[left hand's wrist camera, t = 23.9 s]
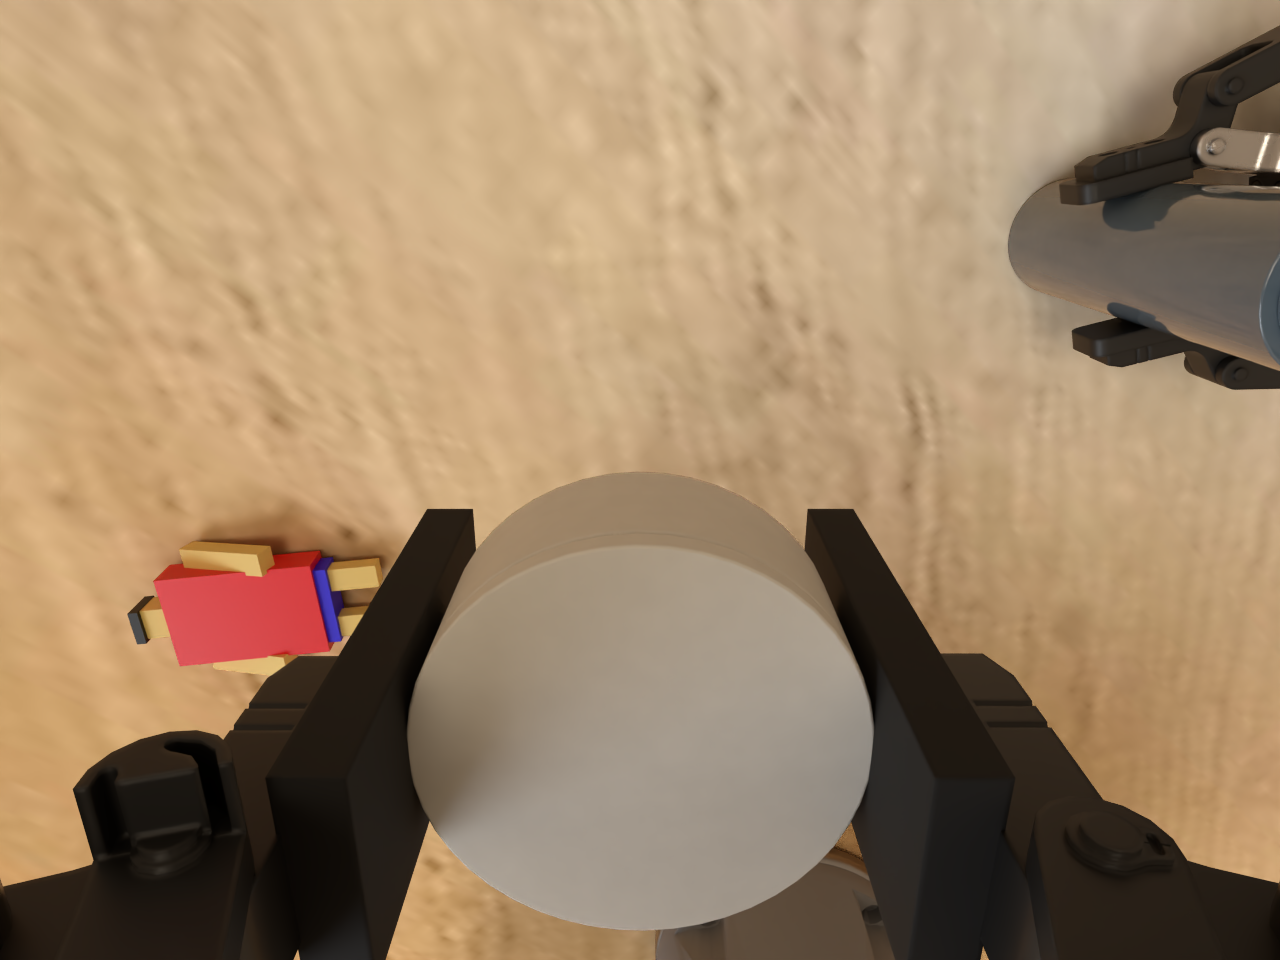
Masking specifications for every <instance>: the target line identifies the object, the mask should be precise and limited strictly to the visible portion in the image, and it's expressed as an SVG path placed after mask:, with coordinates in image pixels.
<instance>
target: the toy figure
mask: <svg viewBox="0 0 1280 960" xmlns="http://www.w3.org/2000/svg"><path fill="white" fill-rule="evenodd" d="M179 552H180V555H181V558H182V562H183V564H175V565H169V566H168V567H167V568H166V569H165V570H164V571H163V572H162V573H161V574H160V575H159V576H158V577H157V578H156V579H155V580H154V585H155V588H156V591H157V594H158V597H154V596H147V597H144V598H143V599H142V600H141V601H140V602H139V603H138V604H137V605H136V606H135V607H134V608H133V609H132V610H131V611H130V612H129V613H128V617H129V621H130V624H131V627H132V630H133V633H134V636H135V639H136V642H137V644H146V643H147V642H148V641H149V640H150V639H153V638H163V637H171V639H172V643H173V646H174V649H175V652H176V656H177V659H178V662H179V665H180V666H187V665H197V664H207V663H212V664H213V667H214V669H218V670H227V671H235V672H244V673H252V674H261V675H270V676H271V675H273V674H274V673H275V672H277V671H278V670H280V669H281V668H282V667H284V666H285V665H287V664H288V663H290V662H291V661H292V660H294V659H295V658H297V657H298V654H308V653H318V652H328V651H330V650H331V648H332V646H333V644H334V642H338V641H341V640H342V638H343V637H344V636H350V635H352V633H353V631H354V630H355V628H356V626H357V625H358V623H359V621H360V620H361V618H362V616H363V615H364V613H365V611H366V610H367V608H368V607H369V606H362V607H351V608H344V605H343V600H342V596H341V590H351V589H362V588H372V587H379V586H380V584H381V582H382V580H383V576H382V571H381V566H380V561H379V558H374V559H363V560H353V561H343V562H334V560H333V557H329V558H322V557H321V553H320V551H311V552H301V553H290V554H280V555H272V551H271V547H270V546H261V545H245V544H229V543H214V542H198V541H193V542H191V543H189V544H188V545H186V546H184V547H182V548H181V549H179Z"/></svg>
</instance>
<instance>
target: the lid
mask: <svg viewBox="0 0 1280 960" xmlns="http://www.w3.org/2000/svg"><path fill="white" fill-rule="evenodd" d="M873 737H874V720H873V713H872V706H871V700H870V697H869V694H868V690H867V687H866V684H865V681H864V677H863V675H862V672H861V670H860V668H859V665H858V663H857V661H856V659H855V656H854V654H853V651H852V649H851V647H850V644H849V642H848V640H847V637H846V635H845V633H844V630H843V628H842V626H841V623H840V621H839V619H838V616H837V614H836V612H835V609H834V607H833V605H832V602H831V600H830V598H829V595H828V593H827V591H826V588H825V586H824V584H823V582H822V580H821V578H820V576H819V574H818V572H817V570H816V568H815V566H814V564H813V562H812V561H811V559H810V558H809V556H808V555H807V553H806V552H805V551H804V549H803V548H802V546H801V545H800V544H799V542H798V541H797V540H796V539H795V538H794V537H793V536H792V535H791V534H790V533H789V532H788V531H787V529H786V528H785V527H784V526H783V525H781V524H780V523H779V522H778V521H777V520H775V519H774V518H773V517H772V516H770V515H769V514H768V513H767V512H766V511H764V510H763V509H761V508H760V507H758V506H756V505H755V504H753V503H752V502H750V501H748V500H747V499H745V498H743V497H742V496H740V495H737V494H735V493H733V492H731V491H728V490H726V489H724V488H722V487H719V486H717V485H714V484H711V483H707V482H704V481H701V480H697V479H694V478H690V477H684V476H679V475H673V474H667V473H651V472H628V473H615V474H607V475H602V476H597V477H592V478H587V479H582V480H579V481H577V482H574V483H571V484H568V485H565V486H562V487H559V488H556V489H554V490H552V491H550V492H548V493H546V494H544V495H542V496H540V497H538V498H536V499H534V500H532V501H531V502H529V503H528V504H526V505H525V506H523V507H522V508H520V509H519V510H517V511H516V512H514V513H512V514H511V515H510V516H509V517H508V518H507V519H506V520H504V521H503V522H502V523H501V524H500V525H499V526H498V527H496V528H495V529H494V530H493V531H492V532H491V533H490V535H489V536H488V537H487V538H486V539H485V540H484V542H483V543H482V544H481V545H480V546H479V547H478V549H477V550H476V551H475V553H474V555H473V556H472V558H471V559H470V561H469V562H468V564H467V566H466V567H465V569H464V571H463V573H462V575H461V578H460V580H459V582H458V584H457V587H456V589H455V591H454V594H453V596H452V598H451V601H450V603H449V605H448V608H447V610H446V612H445V615H444V617H443V619H442V622H441V624H440V626H439V629H438V631H437V633H436V636H435V638H434V640H433V643H432V645H431V648H430V650H429V652H428V655H427V657H426V659H425V662H424V664H423V666H422V669H421V671H420V673H419V676H418V678H417V680H416V683H415V687H414V690H413V694H412V698H411V702H410V705H409V711H408V721H407V741H408V751H409V760H410V767H411V775H412V780H413V784H414V787H415V790H416V792H417V795H418V797H419V800H420V803H421V805H422V808H423V810H424V811H425V813H426V815H427V817H428V819H429V820H430V822H431V824H432V826H433V827H434V829H435V831H436V832H437V833H438V835H439V836H440V837H441V839H442V840H443V841H444V842H445V844H446V845H447V846H448V848H449V849H450V850H451V851H452V852H453V853H454V854H455V855H456V856H457V857H458V858H459V859H460V860H461V861H462V862H463V863H464V864H465V865H466V867H467V868H468V869H470V870H471V871H472V872H473V873H475V874H476V875H477V876H479V877H480V878H481V879H482V880H484V881H485V882H486V883H487V884H489V885H490V886H492V887H493V888H495V889H497V890H498V891H500V892H502V893H503V894H505V895H506V896H508V897H510V898H511V899H513V900H515V901H517V902H520V903H522V904H524V905H526V906H528V907H530V908H532V909H534V910H537V911H539V912H542V913H545V914H548V915H551V916H554V917H557V918H559V919H562V920H567V921H571V922H575V923H579V924H583V925H588V926H594V927H601V928H609V929H616V930H643V931H645V930H661V929H674V928H680V927H686V926H692V925H699V924H703V923H706V922H710V921H714V920H718V919H721V918H725V917H728V916H730V915H733V914H736V913H738V912H741V911H744V910H746V909H749V908H751V907H753V906H755V905H757V904H759V903H761V902H763V901H765V900H767V899H769V898H771V897H773V896H775V895H777V894H778V893H780V892H781V891H783V890H784V889H786V888H787V887H789V886H790V885H792V884H793V883H795V882H796V881H798V880H799V879H800V878H801V877H803V876H804V875H805V874H806V873H807V872H808V871H810V870H811V869H812V868H813V867H814V866H816V865H817V864H818V863H819V862H820V861H821V860H822V858H823V857H824V856H825V855H826V854H827V853H828V852H829V851H830V850H831V849H832V848H833V847H834V846H835V844H836V843H837V841H838V840H839V839H840V837H841V836H842V834H843V833H844V832H845V830H846V829H847V827H848V826H849V825H850V823H851V821H852V819H853V817H854V815H855V813H856V811H857V809H858V807H859V805H860V803H861V801H862V798H863V795H864V792H865V789H866V786H867V783H868V780H869V772H870V764H871V756H872V747H873Z"/></svg>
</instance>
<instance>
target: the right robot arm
mask: <svg viewBox="0 0 1280 960" xmlns="http://www.w3.org/2000/svg"><path fill="white" fill-rule="evenodd" d="M1279 82H1280V26H1278V27H1276V28H1274V29H1272V30H1270V31H1268V32H1267V33H1265V34H1263V35H1261V36H1259V37H1257V38H1255V39H1253V40H1251V41H1249V42H1248V43H1246V44H1244V45H1242V46H1240V47H1238V48H1236V49H1234V50H1232V51H1230V52H1229V53H1227V54H1225V55H1223V56H1221V57H1219V58H1217V59H1215V60H1213V61H1211V62H1210V63H1208V64H1206V65H1204V66H1202V67H1200V68H1198V69H1196V70H1194V71H1192V72H1191V73H1189V74H1187V75H1185V76H1183V77H1182V78H1181V79H1180V80H1179V81H1178V82H1177V84H1176V86H1175V88H1174V91H1173V99H1174V102H1175V104H1176V105H1177V106H1178V108H1177V111H1176V115H1175V118H1174V121H1173V123H1172V125H1171V127H1170V128H1169V129H1168V130H1167V132H1165V133H1164V134H1163V135H1162V136H1160V137H1158V138H1156V139H1153V140H1149V141H1145V142H1142V143H1138V144H1134V145H1130V146H1127V147H1123V148H1119V149H1116V150H1112V151H1108V152H1105V153H1100V154H1097V155H1093V156H1089V157H1087V158H1086V159H1084V160H1083V161H1081V162H1080V163H1078V164H1077V165H1076V166H1075V179H1073V180H1069V181H1065V182H1062V183H1060V184H1059V191H1060V203H1061V204H1069V205H1089V204H1094V203H1098V202H1102V201H1106V200H1110V199H1114V198H1117V197H1121V196H1125V195H1129V194H1133V193H1137V192H1140V191H1144V190H1148V189H1152V188H1156V187H1159V186H1162V185H1166V184H1171V183H1175V182H1179V181H1182V180H1186V179H1190V178H1193V170H1196V169H1200V168H1201V169H1210V170H1214V171H1222V172H1231V173H1240V174H1249V175H1256V176H1252V177H1249V185H1252V186H1276V187H1280V133H1266V132H1257V131H1248V130H1239V129H1230V127H1231V124H1232V121H1233V118H1234V114H1235V111H1236V108H1237V105H1238V103H1240V102H1242V101H1244V100H1246V99H1248V98H1250V97H1252V96H1254V95H1256V94H1258V93H1260V92H1262V91H1264V90H1265V89H1267V88H1269V87H1271V86H1273V85H1275V84H1277V83H1279ZM1072 339H1073V349H1074V350H1077V351H1079V352H1081V353H1084V354H1086V355H1088V356H1090V358H1092V359H1095V360H1097V361H1099V362H1102V363H1104V364H1106V365H1109V366H1117V367H1125V366H1129V365H1133V364H1137V363H1141V362H1145V361H1148V360H1153V359H1157V358H1161V357H1165V356H1170V355H1174V354H1178V353H1182V352H1184V353H1185V356H1186V357H1185V360H1184V366H1185V369H1186V370H1187V371H1188V372H1189V373H1191V374H1193V375H1196V376H1199V377H1201V378H1204V379H1206V380H1209V381H1212V382H1214V383H1217V384H1219V385H1222V386H1224V387H1227V388H1230V389H1234V390H1241V389H1280V371H1278V370H1275V369H1272V368H1269V367H1266V366H1263V365H1260V364H1257V363H1254V362H1251V361H1248V360H1244V359H1241V358H1238V357H1235V356H1232V355H1229V354H1226V353H1223V352H1220V351H1217V350H1214V349H1211V348H1208V347H1205V346H1202V345H1199V344H1196V343H1193V342H1190V341H1187V340H1184V339H1181V338H1178V337H1175V336H1172V335H1169V334H1166V333H1163V332H1160V331H1157V330H1154V329H1151V328H1148V327H1145V326H1142V325H1139V324H1136V323H1133V322H1130V321H1127V320H1124V319H1121V318H1114V319H1110V320H1106V321H1102V322H1098V323H1094V324H1090V325H1086V326H1082V327H1079V328H1076V329H1074V330H1072Z"/></svg>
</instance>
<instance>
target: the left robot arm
mask: <svg viewBox="0 0 1280 960" xmlns="http://www.w3.org/2000/svg"><path fill="white" fill-rule="evenodd" d="M475 551H476V544H475V531H474V518H473V509H427V510H426V512H425V514H424V515H423V517H422V519H421V520H420V522H419V524H418V525H417V527H416V529H415V530H414V532H413V534H412V535H411V537H410V539H409V540H408V542H407V544H406V545H405V547H404V549H403V550H402V552H401V554H400V555H399V557H398V558H397V560H396V562H395V563H394V565H393V567H392V568H391V570H390V572H389V573H388V575H387V577H386V578H385V580H384V582H383V583H382V585H381V587H380V588H379V590H378V592H377V593H376V595H375V597H374V598H373V600H372V602H371V603H370V605H369V607H368V608H367V610H366V611H365V613H364V615H363V616H362V618H361V620H360V621H359V623H358V625H357V626H356V628H355V630H354V631H353V633H352V635H351V636H350V638H349V640H348V641H347V643H346V645H345V646H344V648H343V650H342V651H341V653H340V655H339V656H298V657H297V658H295V659H294V660H292V661H291V662H290V663H288V664H287V665H285V666H284V667H282V668H281V669H280V670H278V671H277V672H275V673H274V674H273V675H271V676H270V677H268V678H267V679H266V681H265V682H264V684H263V685H262V686H261V688H260V689H259V691H258V692H257V693H256V695H255V696H254V698H253V699H252V700H251V702H250V703H249V709H245V710H244V712H243V713H242V714H241V716H240V717H239V719H238V720H237V721H236V723H235V724H234V730H230V731H229V733H228V734H227V735H226V737H225V738H224V740H223V739H222V738H220V737H219V736H218V735H214V734H210V733H206V732H202V731H197V730H194V731H175V732H167V733H163V734H159V735H155V736H151V737H148V738H144V739H140V740H138V741H136V742H133V743H131V744H129V745H127V746H125V747H123V748H120V749H118V750H116V751H114V752H112V753H110V754H109V755H107V756H106V757H105V758H103V759H102V760H101V761H99V762H98V763H96V764H95V765H94V766H92V767H91V768H90V769H88V770H87V771H86V773H85V774H84V775H83V777H82V778H81V779H80V781H79V782H78V783H77V784H76V786H75V787H74V788H73V792H74V795H75V798H76V802H77V805H78V809H79V812H80V815H81V819H82V822H83V826H84V829H85V832H86V836H87V839H88V843H89V846H90V849H91V853H92V856H93V860H94V861H93V863H92V865H89V866H86V867H82V868H79V869H76V870H73V871H68V872H64V873H60V874H55V875H51V876H47V877H42V878H38V879H34V880H30V881H25V882H21V883H17V884H12V885H8V886H4V887H3V886H2V883H1V880H0V960H293V959H294V957H295V955H296V952H297V950H298V951H299V956H300V960H386V957H387V953H388V950H389V947H390V944H391V941H392V938H393V934H394V931H395V928H396V925H397V922H398V919H399V915H400V912H401V909H402V906H403V903H404V900H405V897H406V893H407V890H408V887H409V884H410V881H411V878H412V874H413V871H414V868H415V865H416V862H417V859H418V856H419V852H420V849H421V846H422V843H423V840H424V837H425V833H426V830H427V827H428V824H429V821H430V820H429V819H428V817H427V815H426V813H425V811H424V810H423V808H422V805H421V803H420V800H419V797H418V795H417V792H416V790H415V787H414V784H413V780H412V775H411V767H410V760H409V751H408V741H407V721H408V711H409V705H410V702H411V698H412V694H413V690H414V687H415V683H416V680H417V678H418V676H419V673H420V671H421V669H422V666H423V664H424V662H425V659H426V657H427V655H428V652H429V650H430V648H431V645H432V643H433V640H434V638H435V636H436V633H437V631H438V629H439V626H440V624H441V622H442V619H443V617H444V615H445V612H446V610H447V608H448V605H449V603H450V601H451V598H452V596H453V594H454V591H455V589H456V587H457V584H458V582H459V580H460V578H461V575H462V573H463V571H464V569H465V567H466V566H467V564H468V562H469V561H470V559H471V558H472V556H473V555H474V553H475ZM805 552H806V553H807V555H808V556H809V558H810V559H811V561H812V562H813V564H814V566H815V568H816V570H817V572H818V574H819V576H820V578H821V580H822V582H823V584H824V586H825V588H826V591H827V593H828V595H829V598H830V600H831V602H832V605H833V607H834V609H835V612H836V614H837V616H838V619H839V621H840V623H841V626H842V628H843V630H844V633H845V635H846V637H847V640H848V642H849V644H850V647H851V649H852V651H853V654H854V656H855V659H856V661H857V663H858V665H859V668H860V670H861V672H862V675H863V677H864V681H865V684H866V687H867V690H868V694H869V697H870V700H871V706H872V713H873V720H874V737H873V747H872V756H871V764H870V772H869V780H868V783H867V786H866V789H865V792H864V795H863V798H862V801H861V803H860V805H859V807H858V809H857V811H856V813H855V815H854V817H853V819H852V821H851V822H852V826H853V829H854V832H855V835H856V838H857V841H858V844H859V848H860V851H861V854H862V857H863V860H864V861H862V860H860V859H859V858H857V857H855V856H853V855H850V854H848V853H846V852H843V851H841V850H838V849H835V848H832V849H831V850H830V851H829V852H828V853H827V854H826V855H825V856H824V857H823V858H822V860H821V861H820V862H819V863H818V864H817V865H816V866H814V867H813V868H812V869H811V870H810V871H808V872H807V873H806V874H805V875H804V876H803V877H801V878H800V879H799V880H798V881H796V882H795V883H793V884H792V885H790V886H789V887H787V888H786V889H784V890H783V891H781V892H780V893H778V894H777V895H775V896H773V897H771V898H769V899H767V900H765V901H763V902H761V903H759V904H757V905H755V906H753V907H751V908H749V909H746V910H744V911H741V912H738V913H736V914H733V915H730V916H728V917H725V918H721V919H718V920H714V921H710V922H706V923H703V924H699V925H692V926H686V927H680V928H674V929H661V930H656V939H655V948H656V960H980V959H981V954H982V949H983V947H984V949H985V952H986V954H987V956H988V959H989V960H1280V882H1279V883H1275V882H1271V881H1266V880H1262V879H1258V878H1254V877H1249V876H1245V875H1241V874H1236V873H1232V872H1228V871H1223V870H1219V869H1215V868H1210V867H1207V866H1203V865H1200V864H1197V863H1194V862H1190V861H1187V859H1186V858H1185V856H1184V855H1183V853H1182V852H1181V850H1180V849H1179V847H1178V846H1177V844H1176V843H1175V841H1174V840H1173V839H1172V838H1171V837H1170V836H1169V835H1168V834H1166V833H1165V832H1164V831H1163V830H1162V829H1160V828H1159V827H1158V826H1157V825H1156V824H1154V823H1153V822H1152V821H1151V820H1149V819H1147V818H1145V817H1143V816H1141V815H1139V814H1138V813H1136V812H1134V811H1132V810H1130V809H1128V808H1126V807H1124V806H1121V805H1118V804H1115V803H1111V802H1108V801H1104V800H1103V799H1102V798H1101V796H1100V795H1099V793H1098V792H1097V791H1096V789H1095V788H1094V786H1093V785H1092V784H1091V782H1090V781H1089V780H1088V778H1087V777H1086V775H1085V774H1084V773H1083V771H1082V770H1081V768H1080V767H1079V766H1078V764H1077V763H1076V761H1075V760H1074V759H1073V757H1072V756H1071V754H1070V753H1069V752H1068V750H1067V749H1066V748H1065V746H1064V745H1063V743H1062V742H1061V741H1060V739H1059V738H1058V736H1057V735H1056V734H1055V732H1054V731H1053V729H1052V728H1048V727H1047V721H1046V720H1045V718H1044V717H1043V716H1042V714H1041V713H1040V711H1039V710H1038V709H1037V707H1036V706H1032V700H1031V699H1030V698H1029V696H1028V695H1027V693H1026V692H1025V691H1024V689H1023V688H1022V686H1021V685H1020V684H1019V682H1018V681H1017V679H1016V678H1015V677H1014V675H1012V674H1011V673H1009V672H1008V671H1007V670H1005V669H1004V668H1002V667H1001V666H1000V665H998V664H997V663H995V662H994V661H992V660H991V659H990V658H988V657H987V656H985V655H984V654H940V652H939V650H938V649H937V647H936V645H935V644H934V642H933V640H932V639H931V637H930V635H929V634H928V632H927V630H926V629H925V627H924V626H923V624H922V622H921V621H920V619H919V617H918V616H917V614H916V612H915V611H914V609H913V607H912V606H911V604H910V602H909V601H908V599H907V597H906V596H905V594H904V592H903V591H902V589H901V587H900V586H899V584H898V582H897V581H896V579H895V577H894V576H893V574H892V572H891V571H890V569H889V568H888V566H887V564H886V563H885V561H884V559H883V558H882V556H881V554H880V553H879V551H878V549H877V548H876V546H875V544H874V543H873V541H872V539H871V538H870V536H869V534H868V533H867V531H866V529H865V528H864V526H863V524H862V523H861V521H860V519H859V518H858V516H857V515H856V513H855V511H854V510H853V509H808V512H807V525H806V538H805Z"/></svg>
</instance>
